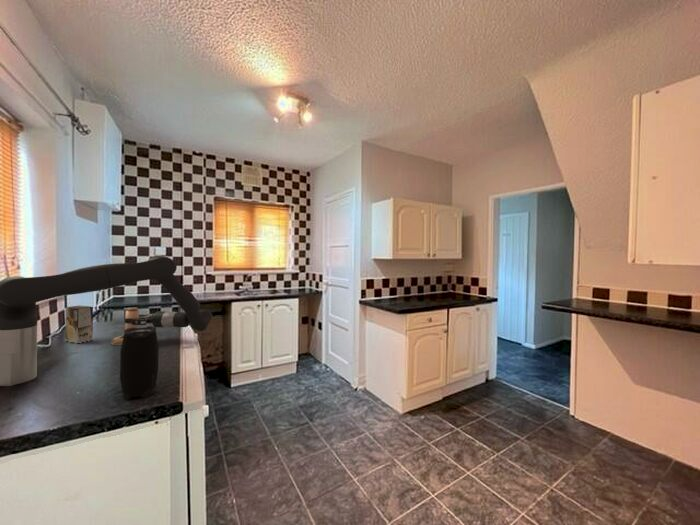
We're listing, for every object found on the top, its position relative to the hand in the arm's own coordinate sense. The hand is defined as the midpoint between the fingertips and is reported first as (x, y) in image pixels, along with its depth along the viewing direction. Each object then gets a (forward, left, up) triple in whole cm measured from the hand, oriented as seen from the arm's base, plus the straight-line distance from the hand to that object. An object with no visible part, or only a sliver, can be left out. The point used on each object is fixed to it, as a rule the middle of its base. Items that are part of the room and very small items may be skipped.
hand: (131, 318), depth 144 cm
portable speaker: (-55, -38, -11) cm, 68 cm away
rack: (0, 0, -11) cm, 11 cm away
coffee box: (-1, +23, -11) cm, 25 cm away
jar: (0, 0, -10) cm, 10 cm away
